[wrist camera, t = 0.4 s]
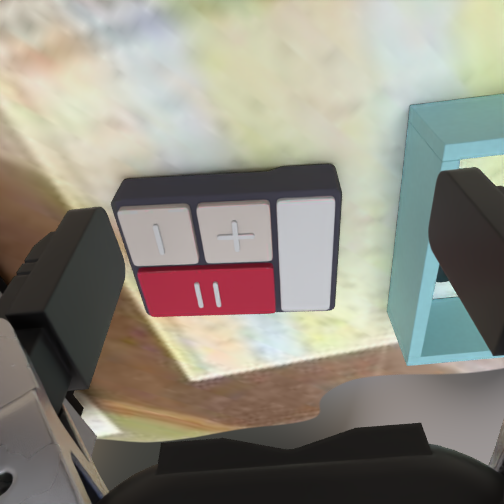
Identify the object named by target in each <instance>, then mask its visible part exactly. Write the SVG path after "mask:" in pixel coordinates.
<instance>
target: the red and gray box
mask: <svg viewBox="0 0 504 504" xmlns="http://www.w3.org/2000/svg"><path fill="white" fill-rule="evenodd" d="M341 204H342V191H341V187H340V183H339V179H338V175H337V171H336V168H335V166H334V165H332V164H318V165H300V166H282V167H279V168H276V169H273V170H271V171H264V172H245V173H226V174H207V175H189V176H170V177H151V178H132V179H125V180H123V182H122V183H121V185H120V187H119V189H118V191H117V192H116V194H115V196H114V198H113V200H112V202H111V206H112V209H113V213H114V216H115V219H116V222H117V225H118V228H119V231H120V234H121V237H122V240H123V243H124V246H125V249H126V252H127V255H128V258H129V261H130V264H131V267H132V270H133V273H134V276H135V279H136V282H137V285H138V288H139V291H140V294H141V297H142V300H143V304H144V307H145V310H146V312H147V314H149V315H151V316H152V317H167V316H202V315H236V314H270V313H275V312H297V311H328V310H332V309H334V307H335V297H336V282H337V266H338V251H339V235H340V220H341Z"/></svg>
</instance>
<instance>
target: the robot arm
mask: <svg viewBox="0 0 504 504" xmlns="http://www.w3.org/2000/svg"><path fill="white" fill-rule="evenodd" d="M428 238H429V244H430V247H431V250H432V252H433V254H434V256H435V257H436V259H437V261H438V262H439V264H440V266H441V268H442V269H443V271H444V273H445V274H446V276H447V278H448V280H449V281H450V283H451V285H452V286H453V288H454V290H455V292H456V293H457V295H458V297H459V298H460V300H461V302H462V304H463V305H464V307H465V309H466V310H467V312H468V314H469V316H470V317H471V319H472V321H473V322H474V324H475V326H476V328H477V329H478V331H479V333H480V334H481V336H482V338H483V340H484V341H485V343H486V345H487V346H488V348H489V350H490V352H491V353H492V355H493V356H502V355H504V187H503V186H495V185H494V184H493V183H492V182H491V181H490V180H489V179H488V178H487V177H486V176H485V175H484V173H483V172H482V171H481V170H480V169H478V168H476V167H472V168H463V169H453V170H444V171H441V172H440V173H439V174H438V177H437V180H436V185H435V191H434V197H433V203H432V209H431V214H430V220H429V227H428ZM24 261H25V263H24V264H22V265H21V267H20V268H19V270H18V271H17V276H14V277H13V279H12V281H11V282H10V284H9V285H8V287H7V288H6V290H5V291H4V293H3V294H2V296H1V298H0V504H504V420H503V423H502V427H501V430H500V434H499V437H498V440H497V443H496V446H495V449H494V452H493V455H492V457H491V460H490V463H489V465H486V464H484V463H482V462H480V461H478V460H476V459H474V458H472V457H470V456H467V455H465V454H462V453H459V452H457V451H455V450H452V449H448V448H445V447H441V446H438V445H433V444H428V441H427V438H426V435H425V433H424V430H423V427H422V424H421V423H412V424H399V425H386V426H374V427H361V428H354V429H351V430H348V431H345V432H343V433H339V434H337V435H334V436H331V437H328V438H325V439H322V440H319V441H316V442H313V443H311V444H308V445H305V446H302V447H299V448H295V449H280V448H275V447H270V446H264V445H259V444H253V443H247V442H242V441H237V440H231V439H225V438H220V439H206V440H193V441H180V442H167V443H161V448H160V455H159V460H158V464H157V465H154V466H151V467H149V468H147V469H145V470H143V471H140V472H138V473H136V474H134V475H133V476H131V477H130V478H128V479H126V480H125V481H123V482H122V483H120V484H119V485H118V486H116V487H115V488H114V489H112V490H111V491H110V492H109V491H108V489H107V487H106V486H105V484H104V482H103V481H102V479H101V477H100V475H99V473H98V471H97V470H96V468H95V465H94V463H93V461H92V460H91V457H90V455H89V453H88V451H87V449H86V447H85V445H84V443H83V441H82V439H81V437H80V435H79V433H78V431H77V429H76V427H75V425H74V423H73V421H72V419H71V417H70V415H69V413H68V411H67V409H66V407H65V406H64V404H63V401H64V399H65V396H66V393H67V391H71V390H82V389H89V386H90V383H91V380H92V377H93V374H94V371H95V368H96V365H97V362H98V359H99V356H100V353H101V350H102V347H103V344H104V341H105V338H106V335H107V332H108V329H109V326H110V323H111V320H112V317H113V314H114V311H115V307H116V304H117V301H118V298H119V295H120V292H121V289H122V286H123V283H124V280H125V263H124V258H123V255H122V253H121V250H120V247H119V245H118V242H117V239H116V237H115V234H114V231H113V229H112V226H111V223H110V221H109V218H108V215H107V213H106V211H105V210H104V209H103V208H102V207H92V208H83V209H74V210H69V211H68V212H67V213H66V215H65V216H64V218H63V220H62V221H61V223H60V225H59V226H58V228H57V230H56V231H55V232H50V233H49V234H48V235H47V236H45V237H44V238H43V239H42V240H40V241H39V242H38V243H37V244H36V245H34V247H33V248H32V250H31V251H30V253H29V254H28V256H27V257H26V259H25V260H24Z"/></svg>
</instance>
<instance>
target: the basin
mask: <svg viewBox="0 0 504 504" xmlns="http://www.w3.org/2000/svg"><path fill="white" fill-rule="evenodd" d="M503 154H504V94H497V95H489V96H481V97H473V98H465V99H457V100H449V101H441V102H433V103H425V104H417V105H410V110H409V121H408V129H407V138H406V147H405V156H404V165H403V174H402V183H401V192H400V201H399V210H398V219H397V228H396V236H395V245H394V254H393V263H392V272H391V281H390V290H389V299H388V307H387V313H388V316H389V318H390V321H391V324H392V326H393V329H394V332H395V335H396V337H397V340H398V343H399V345H400V348H401V351H402V354H403V356H404V359H405V362H406V364H407V366H410V365H421V364H433V363H444V362H455V361H466V360H477V359H489V358H500V357H504V355H502V356H493V355H492V353H491V352H490V350H489V348H488V346H487V345H486V343H485V341H484V340H483V338H482V336H481V334H480V333H479V331H478V329H477V328H476V326H475V324H474V322H473V321H472V319H471V317H470V316H469V314H468V312H467V310H466V309H465V307H464V305H463V304H462V302H461V300H460V298H459V297H453V298H443V299H433V300H432V298H433V293H434V288H435V283H436V282H446V281H449V280H448V278H447V276H446V274H445V273H444V271H443V269H442V268H441V266H440V264H439V262H438V261H437V259H436V257H435V256H434V254H433V252H432V250H431V247H430V244H429V238H428V227H429V220H430V214H431V209H432V203H433V197H434V191H435V185H436V180H437V177H438V174H439V173H440V172H441V171H444V170H453V169H459V164H460V159H468V158H477V157H485V156H494V155H503Z"/></svg>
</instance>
